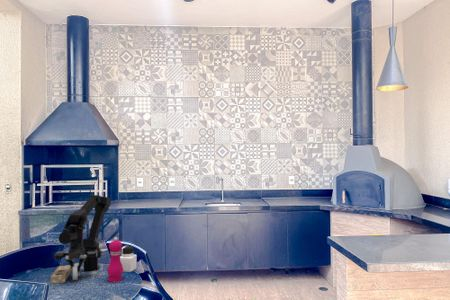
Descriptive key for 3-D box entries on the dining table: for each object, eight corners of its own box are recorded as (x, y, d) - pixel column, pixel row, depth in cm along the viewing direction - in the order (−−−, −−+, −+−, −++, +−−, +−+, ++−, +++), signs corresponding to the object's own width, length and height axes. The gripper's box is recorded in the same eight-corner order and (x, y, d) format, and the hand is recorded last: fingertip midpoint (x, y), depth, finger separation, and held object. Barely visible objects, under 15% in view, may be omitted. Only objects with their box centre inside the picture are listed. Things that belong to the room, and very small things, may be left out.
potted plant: (136, 268, 182) (136, 245, 182) (130, 272, 175) (131, 248, 175) (123, 267, 183) (124, 244, 183) (117, 271, 176) (118, 247, 176)
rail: (71, 271, 176) (71, 265, 176) (64, 282, 159) (64, 275, 159) (58, 272, 174) (58, 266, 174) (50, 283, 158) (50, 276, 158)
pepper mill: (118, 282, 159) (118, 239, 159) (104, 281, 160) (104, 238, 161) (125, 277, 166) (126, 236, 167) (112, 277, 167) (112, 235, 168)
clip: (79, 275, 170) (79, 262, 170) (77, 279, 163) (77, 267, 163) (75, 275, 169) (75, 263, 169) (72, 280, 162) (72, 267, 162)
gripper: (51, 244, 157) (50, 279, 156) (95, 242, 161) (94, 276, 161) (57, 239, 167) (56, 271, 167) (97, 237, 172) (97, 269, 171)
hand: (76, 272), depth 166 cm, fingers closed on clip, 2 cm apart
